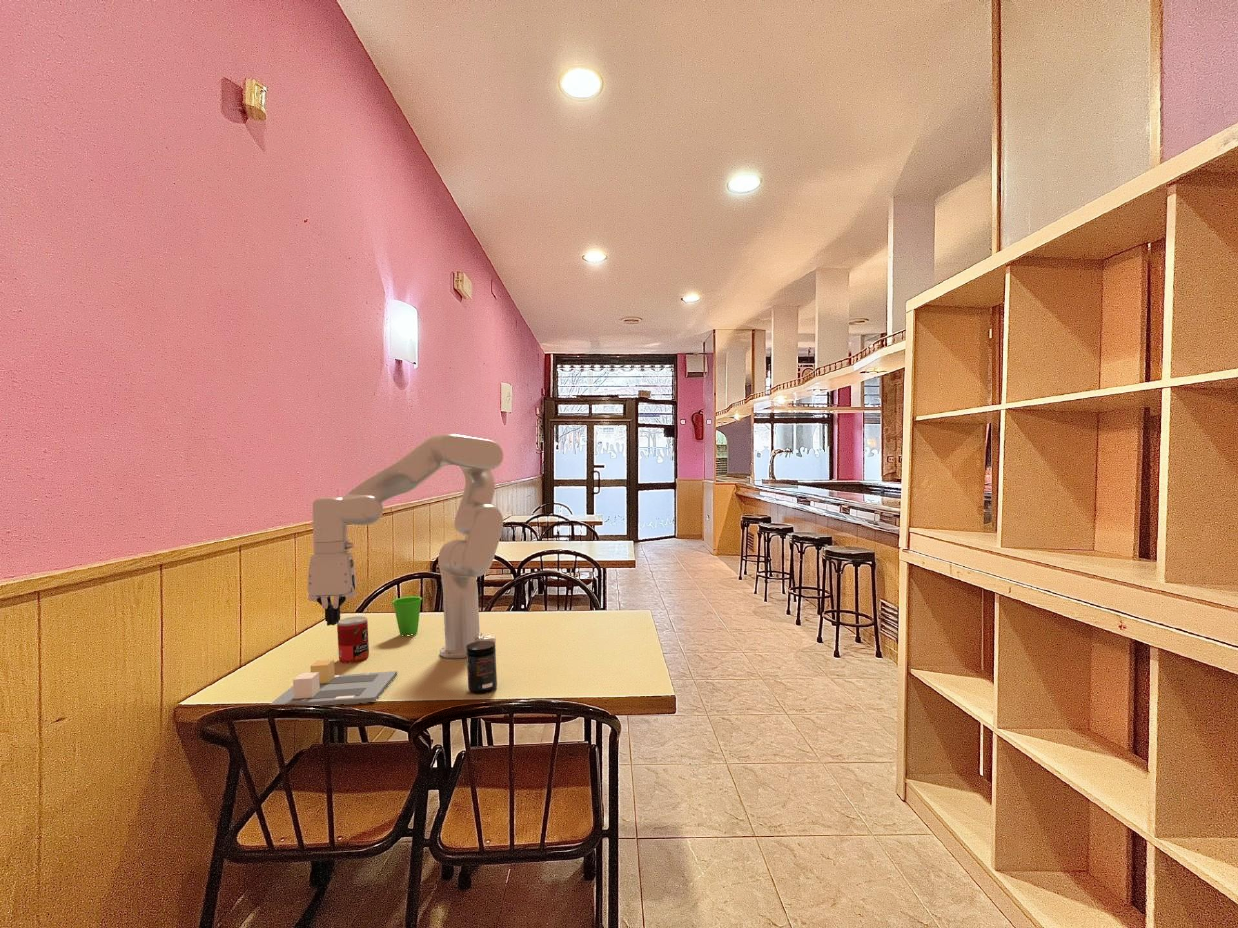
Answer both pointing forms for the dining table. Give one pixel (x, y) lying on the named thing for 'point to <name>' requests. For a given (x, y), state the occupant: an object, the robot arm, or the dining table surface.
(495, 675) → the supplement container
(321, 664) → the orange cube
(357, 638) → the canned food
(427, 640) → the dining table surface
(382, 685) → the switch board
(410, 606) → the cup
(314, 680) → the pale pink cube
